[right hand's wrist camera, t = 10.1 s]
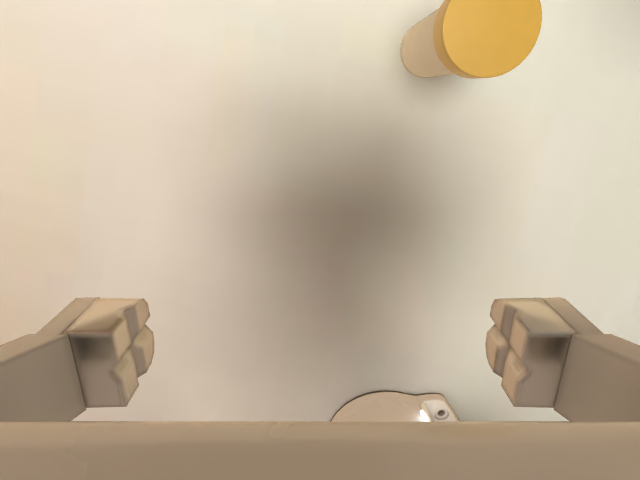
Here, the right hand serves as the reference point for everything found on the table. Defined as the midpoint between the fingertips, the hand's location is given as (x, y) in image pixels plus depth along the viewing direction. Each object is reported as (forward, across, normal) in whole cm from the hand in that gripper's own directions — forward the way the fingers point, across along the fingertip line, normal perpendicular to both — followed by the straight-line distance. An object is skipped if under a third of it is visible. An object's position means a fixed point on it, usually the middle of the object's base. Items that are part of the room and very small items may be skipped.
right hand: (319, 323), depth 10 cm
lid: (+18, +10, +8) cm, 22 cm away
